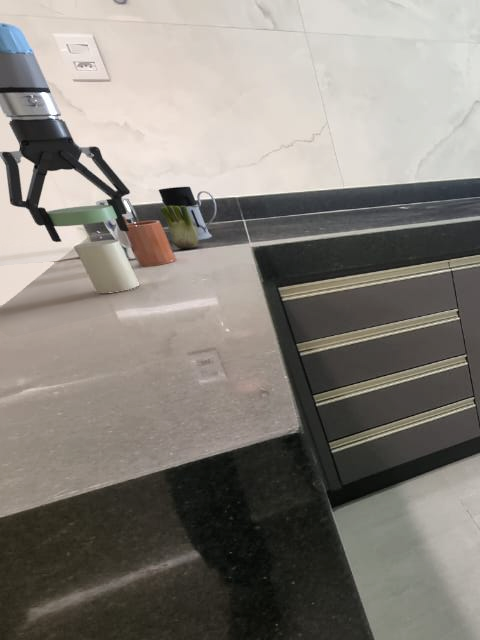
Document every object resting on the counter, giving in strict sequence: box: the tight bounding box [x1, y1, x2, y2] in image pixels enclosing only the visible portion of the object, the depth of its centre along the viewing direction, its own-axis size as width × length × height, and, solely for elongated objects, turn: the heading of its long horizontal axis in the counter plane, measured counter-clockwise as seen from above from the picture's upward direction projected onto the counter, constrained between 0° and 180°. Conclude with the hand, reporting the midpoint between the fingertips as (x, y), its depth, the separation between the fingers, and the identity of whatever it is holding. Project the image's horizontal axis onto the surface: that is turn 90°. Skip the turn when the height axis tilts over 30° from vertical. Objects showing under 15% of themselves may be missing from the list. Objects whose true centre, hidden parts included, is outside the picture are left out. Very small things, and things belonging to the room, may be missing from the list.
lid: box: [46, 204, 117, 227], centre depth 108 cm, size 10×10×2 cm
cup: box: [123, 220, 177, 267], centre depth 134 cm, size 7×7×10 cm
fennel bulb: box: [160, 206, 199, 250], centre depth 148 cm, size 6×5×12 cm
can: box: [73, 239, 140, 294], centre depth 113 cm, size 7×7×10 cm
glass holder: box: [158, 186, 217, 241], centre depth 161 cm, size 9×14×15 cm, turn 96°
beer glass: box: [94, 197, 140, 261], centre depth 140 cm, size 7×7×15 cm
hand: (92, 235), depth 110 cm, fingers closed on lid, 10 cm apart
